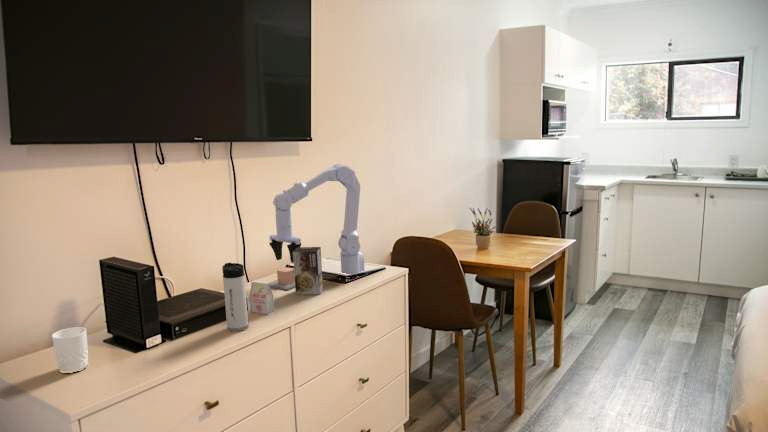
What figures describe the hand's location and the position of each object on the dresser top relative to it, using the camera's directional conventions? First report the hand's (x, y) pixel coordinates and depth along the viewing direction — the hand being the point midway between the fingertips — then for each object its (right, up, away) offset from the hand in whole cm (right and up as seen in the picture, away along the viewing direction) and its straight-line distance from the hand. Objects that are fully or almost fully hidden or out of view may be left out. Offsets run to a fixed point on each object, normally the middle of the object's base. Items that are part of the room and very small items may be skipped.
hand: (286, 260), depth 217 cm
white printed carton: (-3, -15, -28) cm, 32 cm away
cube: (0, -8, +1) cm, 8 cm away
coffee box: (+10, -11, -9) cm, 17 cm away
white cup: (-44, -23, -67) cm, 84 cm away
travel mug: (-8, -17, -42) cm, 46 cm away
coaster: (0, -9, +2) cm, 9 cm away
